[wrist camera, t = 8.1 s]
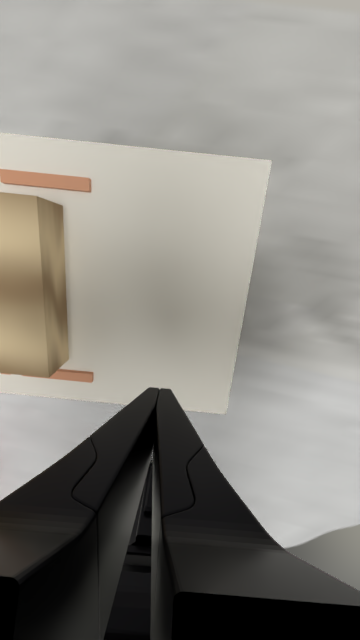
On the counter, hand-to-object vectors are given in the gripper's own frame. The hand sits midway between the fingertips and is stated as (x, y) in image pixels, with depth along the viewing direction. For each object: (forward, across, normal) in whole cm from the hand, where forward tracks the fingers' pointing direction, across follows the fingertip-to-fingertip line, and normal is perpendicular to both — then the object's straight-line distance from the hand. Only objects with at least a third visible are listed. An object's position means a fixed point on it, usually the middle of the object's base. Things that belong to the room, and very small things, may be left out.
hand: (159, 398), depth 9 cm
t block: (+10, +14, -2) cm, 18 cm away
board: (+11, +10, -2) cm, 15 cm away
